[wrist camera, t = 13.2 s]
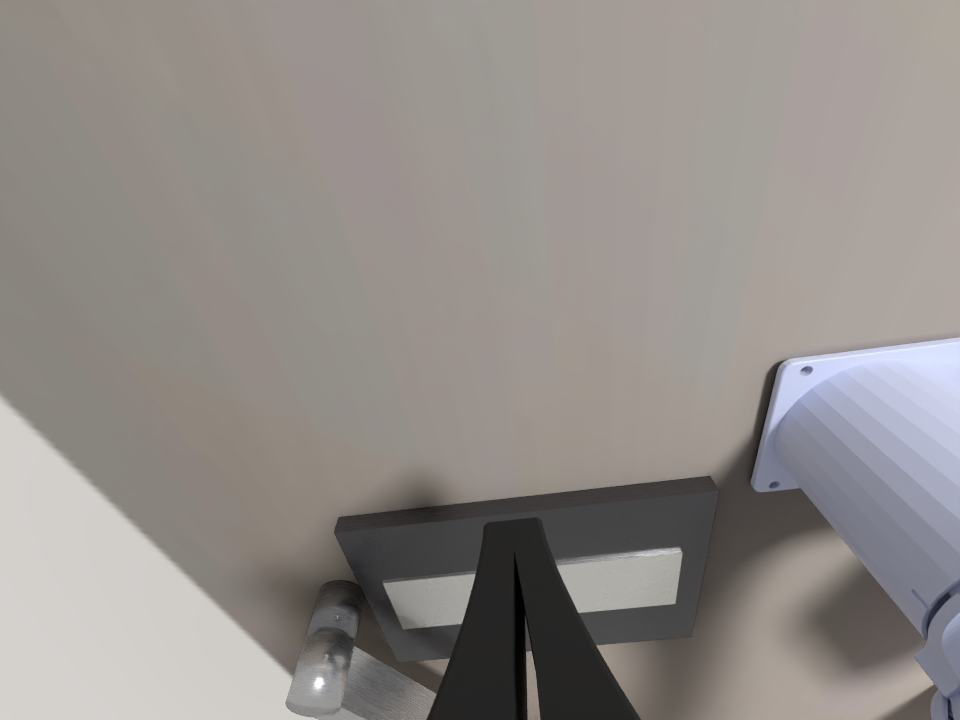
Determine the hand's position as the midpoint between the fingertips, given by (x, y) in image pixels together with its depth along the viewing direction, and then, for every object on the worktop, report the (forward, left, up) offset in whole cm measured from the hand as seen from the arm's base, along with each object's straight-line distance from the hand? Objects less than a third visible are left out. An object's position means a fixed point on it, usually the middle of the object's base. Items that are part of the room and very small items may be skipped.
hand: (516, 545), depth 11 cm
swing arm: (+8, +24, -6) cm, 26 cm away
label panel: (+2, +16, -9) cm, 19 cm away
